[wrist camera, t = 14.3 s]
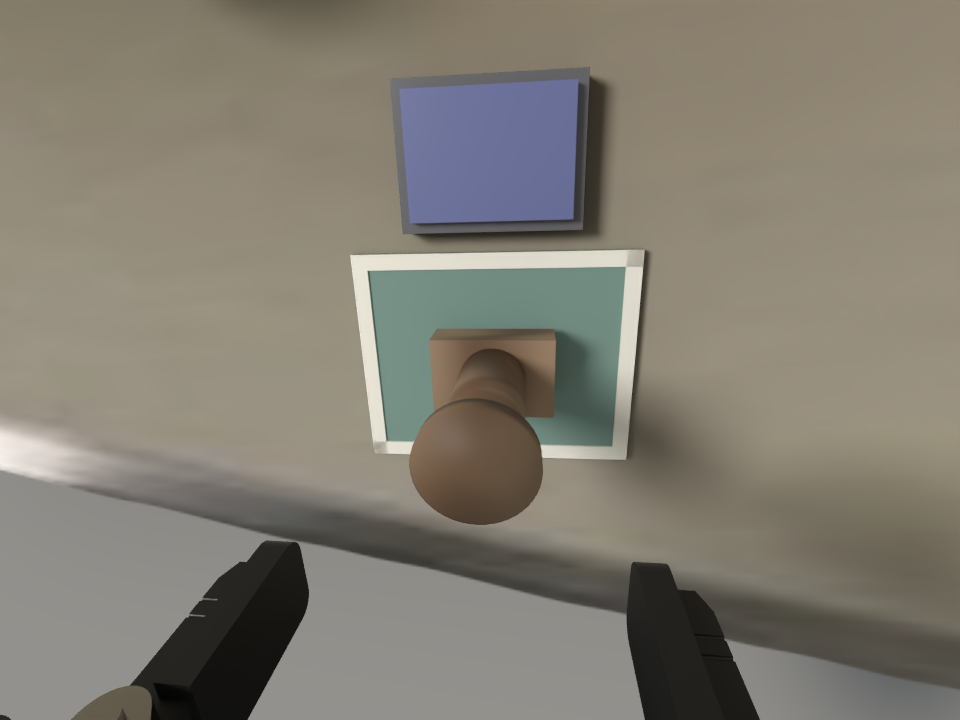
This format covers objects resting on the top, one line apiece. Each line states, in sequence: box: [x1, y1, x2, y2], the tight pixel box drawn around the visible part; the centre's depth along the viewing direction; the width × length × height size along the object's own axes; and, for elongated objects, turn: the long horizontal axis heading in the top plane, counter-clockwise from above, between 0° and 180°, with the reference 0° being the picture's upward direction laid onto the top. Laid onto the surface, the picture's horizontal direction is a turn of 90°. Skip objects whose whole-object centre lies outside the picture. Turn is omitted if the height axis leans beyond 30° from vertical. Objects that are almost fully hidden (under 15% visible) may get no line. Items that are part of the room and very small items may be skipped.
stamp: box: [409, 329, 556, 525], centre depth 20 cm, size 6×4×10 cm
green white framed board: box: [350, 249, 645, 460], centre depth 25 cm, size 15×12×1 cm
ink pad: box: [390, 67, 590, 234], centre depth 21 cm, size 8×6×2 cm
